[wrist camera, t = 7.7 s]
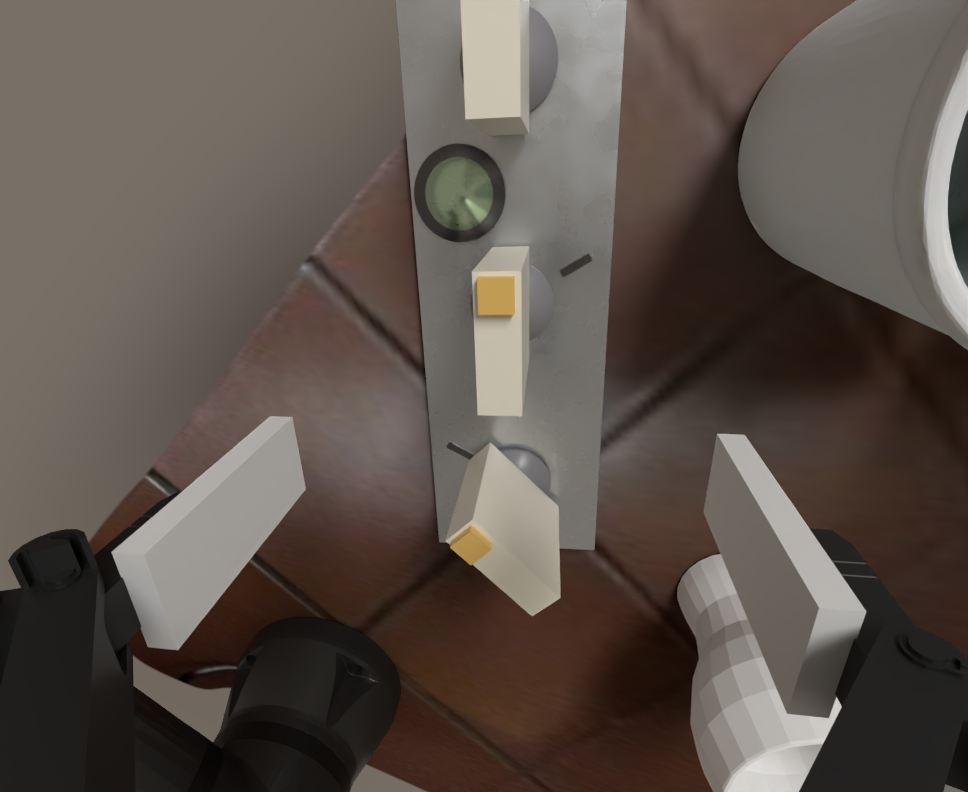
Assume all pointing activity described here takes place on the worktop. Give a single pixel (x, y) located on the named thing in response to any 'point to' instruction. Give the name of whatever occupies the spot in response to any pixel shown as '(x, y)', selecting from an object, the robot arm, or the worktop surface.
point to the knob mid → (506, 326)
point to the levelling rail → (517, 244)
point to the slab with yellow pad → (509, 525)
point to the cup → (741, 695)
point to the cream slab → (505, 63)
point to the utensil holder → (870, 157)
